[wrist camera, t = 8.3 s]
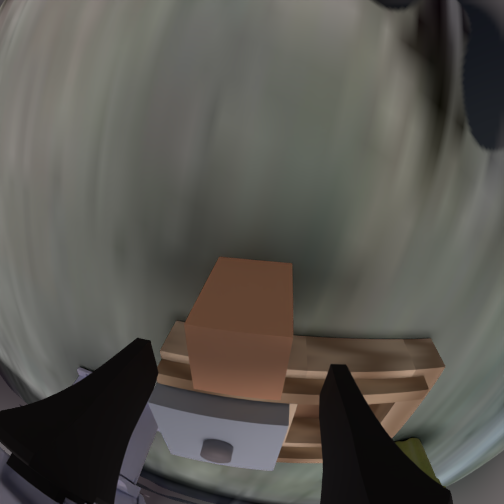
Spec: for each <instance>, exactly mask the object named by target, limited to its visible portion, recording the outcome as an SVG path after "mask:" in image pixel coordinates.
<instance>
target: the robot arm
mask: <svg viewBox="0 0 504 504" xmlns="http://www.w3.org/2000/svg"><path fill="white" fill-rule="evenodd" d="M77 372H78V374H79V376H78V378H77V379H76V381H75V382H74V384H73V385H72V386H70V387H68V388H66V389H65V390H63V391H61V392H59V393H56V394H54V395H52V396H50V397H47V398H45V399H43V400H40V401H37V402H34V403H31V404H28V405H25V406H21V407H17V408H12V409H7V410H2V411H0V442H1V443H2V444H3V445H4V446H5V447H6V448H7V449H9V450H10V451H11V452H12V454H11V456H10V455H8V454H7V453H6V452H5V451H4V450H3V449H2V448H1V447H0V504H146V503H145V501H144V498H143V496H142V495H141V494H139V492H140V489H141V488H140V487H138V486H136V483H137V480H138V478H139V475H140V473H141V470H142V467H143V465H144V462H145V460H146V457H147V455H148V452H149V449H150V447H151V444H152V442H153V439H154V437H155V434H156V432H157V431H160V429H159V427H158V425H157V423H156V420H155V418H154V416H153V413H152V411H151V409H150V406H149V404H148V401H149V399H150V397H151V394H152V392H153V389H154V386H155V383H156V380H157V377H158V373H159V372H158V368H157V365H156V361H155V357H154V353H153V349H152V345H151V341H150V340H145V339H141V338H137V339H135V340H134V341H133V342H132V343H130V344H129V345H128V346H126V347H125V348H124V349H123V350H121V351H120V352H119V353H118V354H116V355H115V356H114V357H112V358H111V359H110V360H109V361H107V362H106V363H105V364H103V365H102V366H101V367H99V368H98V369H97V370H95V371H94V372H91V371H88V370H86V369H83V368H80V367H79V368H78V369H77ZM319 423H320V435H321V446H322V459H323V476H322V491H321V501H320V504H453V500H452V496H451V493H450V490H448V489H446V488H445V487H444V486H442V485H441V484H439V483H438V482H436V481H435V480H433V479H432V478H431V477H429V476H428V475H427V474H426V473H425V472H423V471H422V470H421V469H420V468H419V467H418V466H417V465H416V464H415V463H414V462H413V461H412V460H411V459H410V458H409V457H408V456H406V454H405V453H404V452H403V451H402V450H401V449H400V448H399V447H398V446H397V444H396V443H395V442H394V441H393V440H392V438H391V437H390V436H389V435H388V433H387V432H386V431H385V429H384V428H383V426H382V425H381V423H380V422H379V421H378V419H377V418H376V416H375V415H374V413H373V411H372V410H371V408H370V407H369V405H368V403H367V402H366V400H365V398H364V397H363V395H362V393H361V391H360V389H359V388H358V386H357V384H356V382H355V380H354V378H353V376H352V374H351V372H350V370H349V368H348V366H347V365H346V364H331V365H330V368H329V370H328V373H327V376H326V379H325V381H324V384H323V387H322V389H321V392H320V395H319Z"/></svg>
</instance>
